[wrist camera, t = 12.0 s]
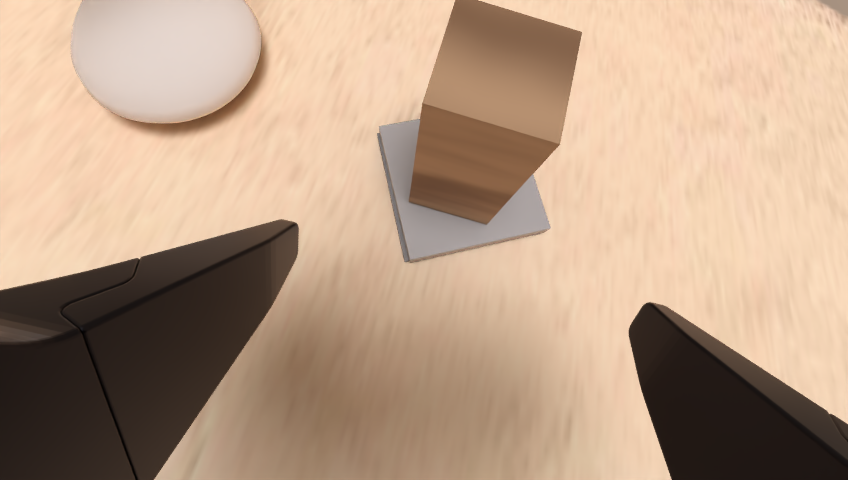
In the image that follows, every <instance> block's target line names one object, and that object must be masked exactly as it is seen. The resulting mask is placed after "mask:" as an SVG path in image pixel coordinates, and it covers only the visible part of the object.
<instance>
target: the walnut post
mask: <svg viewBox="0 0 848 480" xmlns="http://www.w3.org/2000/svg"><path fill="white" fill-rule="evenodd" d="M581 35H582V32H580V31H577V30H573V29H570V28H567V27H564V26H560V25H557V24H554V23H550V22H547V21H544V20H541V19H537V18H534V17H531V16H528V15H524V14H521V13H518V12H514V11H511V10H508V9H505V8H501V7H498V6H495V5H491V4H488V3H485V2H482V1H478V0H455V3H454V6H453V9H452V13H451V16H450V19H449V22H448V25H447V28H446V31H445V34H444V38H443V41H442V44H441V47H440V50H439V53H438V56H437V59H436V63H435V66H434V69H433V72H432V75H431V78H430V81H429V84H428V88H427V91H426V94H425V97H424V100H423V103H422V110H421V117H420V125H419V132H418V139H417V146H416V153H415V160H414V167H413V174H412V182H411V189H410V196H409V202H411V203H414V204H418V205H421V206H424V207H428V208H431V209H435V210H438V211H442V212H445V213H448V214H452V215H455V216H459V217H462V218H465V219H469V220H472V221H476V222H479V223H482V224H486V225H487V224H488V223H489V222H490V221H491V219H492V218H493V217H494V216H495V215H496V214H497V213H498V212H499V211H500V210H501V208H502V207H503V206H504V205H505V204H506V203H507V202H508V201H509V200H510V199H511V197H512V196H513V195H514V194H515V193H516V192H517V191H518V190H519V189H520V188H521V186H522V185H523V184H524V183H525V182H526V181H527V180H528V179H529V178H530V177H531V175H532V174H533V173H534V172H535V171H536V170H537V169H538V168H539V167H540V166H541V164H542V163H543V162H544V161H545V160H546V159H547V158H548V157H549V156H550V155H551V153H552V152H553V151H554V150H555V149H556V148H557V147H558V146H559V145H560V141H561V136H562V131H563V126H564V121H565V116H566V111H567V106H568V101H569V96H570V91H571V86H572V80H573V75H574V70H575V65H576V60H577V55H578V50H579V45H580V40H581Z"/></svg>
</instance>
